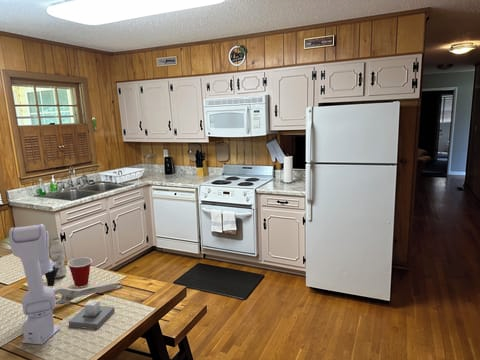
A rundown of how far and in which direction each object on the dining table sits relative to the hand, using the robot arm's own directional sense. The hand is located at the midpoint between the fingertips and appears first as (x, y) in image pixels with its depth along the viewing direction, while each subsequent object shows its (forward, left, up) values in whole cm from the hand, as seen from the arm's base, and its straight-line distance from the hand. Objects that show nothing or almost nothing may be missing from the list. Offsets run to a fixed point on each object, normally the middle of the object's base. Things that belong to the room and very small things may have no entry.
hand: (45, 290), depth 134 cm
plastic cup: (+24, +1, -10) cm, 26 cm away
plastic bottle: (+30, +18, -10) cm, 36 cm away
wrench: (+14, -10, -10) cm, 20 cm away
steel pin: (-2, -22, -10) cm, 24 cm away
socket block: (-2, -22, -9) cm, 24 cm away
